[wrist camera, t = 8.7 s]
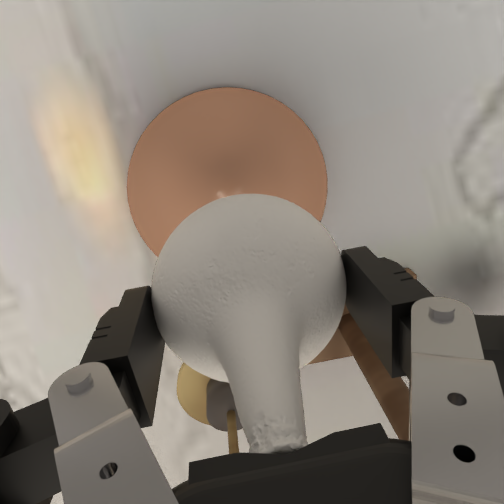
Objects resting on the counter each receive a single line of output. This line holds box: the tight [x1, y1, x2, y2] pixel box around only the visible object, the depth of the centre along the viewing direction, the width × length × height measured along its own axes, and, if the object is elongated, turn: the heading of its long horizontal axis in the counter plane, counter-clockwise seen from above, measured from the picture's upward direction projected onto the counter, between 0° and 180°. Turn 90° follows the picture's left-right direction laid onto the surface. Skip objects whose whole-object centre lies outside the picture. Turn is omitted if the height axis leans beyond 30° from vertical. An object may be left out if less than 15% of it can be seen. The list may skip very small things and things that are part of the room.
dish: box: [127, 87, 327, 257], centre depth 24 cm, size 12×12×1 cm
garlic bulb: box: [151, 194, 347, 454], centre depth 10 cm, size 6×6×8 cm
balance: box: [177, 268, 417, 454], centre depth 20 cm, size 25×6×20 cm, turn 98°
